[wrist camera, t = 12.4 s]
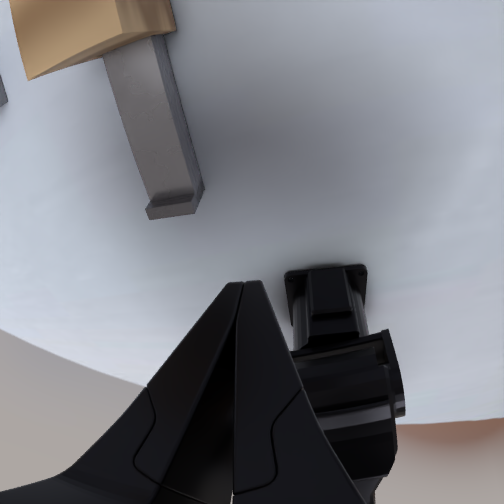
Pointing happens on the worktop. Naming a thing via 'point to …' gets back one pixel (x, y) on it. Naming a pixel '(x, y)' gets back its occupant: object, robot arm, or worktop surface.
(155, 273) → the worktop surface
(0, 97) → the grey button housing
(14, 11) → the block
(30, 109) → the worktop surface
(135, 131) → the rail
